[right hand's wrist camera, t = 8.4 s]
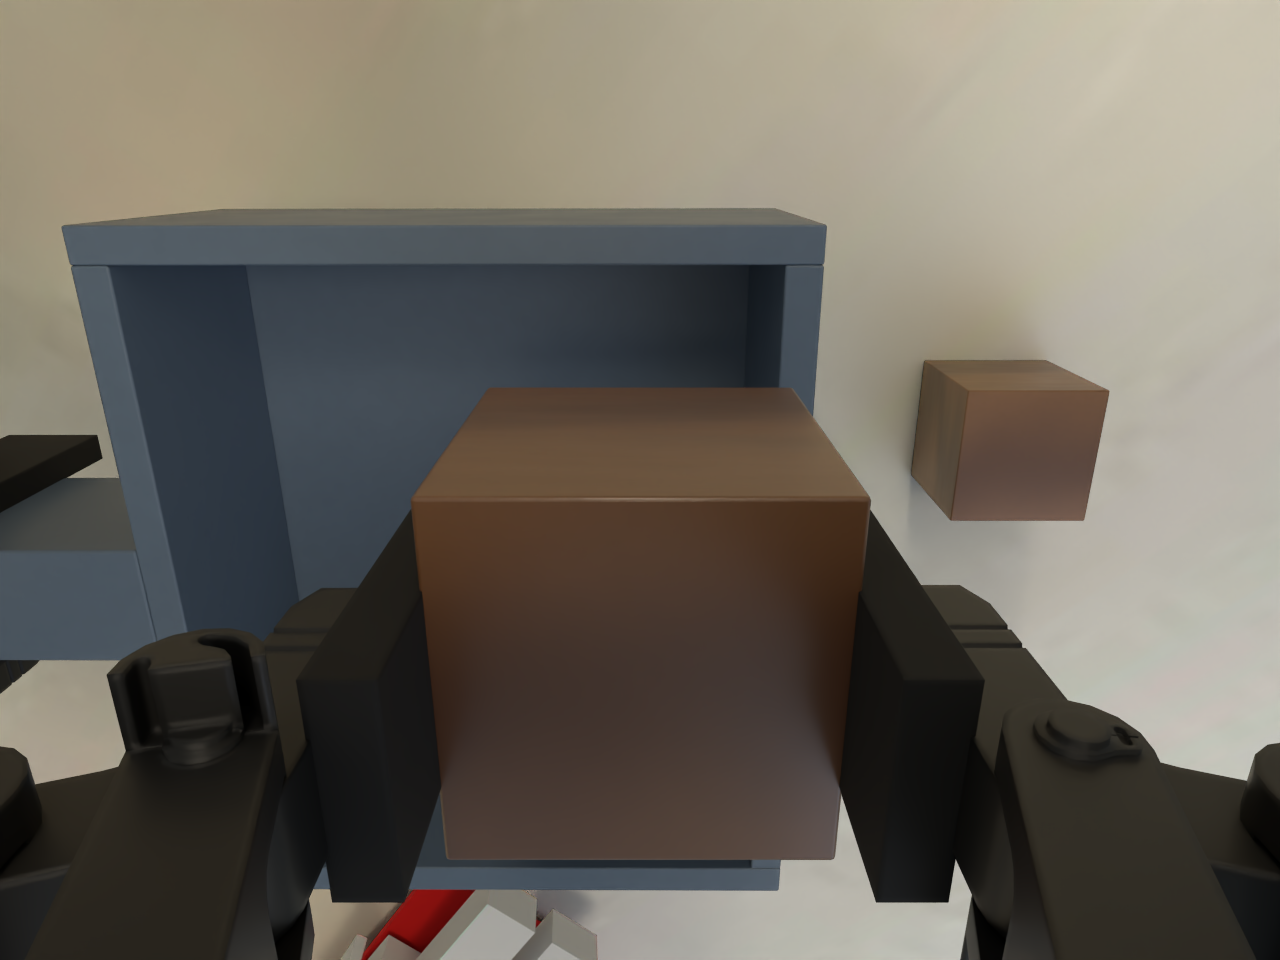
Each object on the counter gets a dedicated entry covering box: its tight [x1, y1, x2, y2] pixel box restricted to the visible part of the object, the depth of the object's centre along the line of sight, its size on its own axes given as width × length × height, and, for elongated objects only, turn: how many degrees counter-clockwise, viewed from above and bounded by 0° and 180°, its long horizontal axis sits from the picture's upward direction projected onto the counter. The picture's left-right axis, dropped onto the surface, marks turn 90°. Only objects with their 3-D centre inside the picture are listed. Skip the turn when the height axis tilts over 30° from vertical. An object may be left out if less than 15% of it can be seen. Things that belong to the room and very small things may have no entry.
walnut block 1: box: [410, 388, 871, 860], centre depth 12 cm, size 5×5×5 cm
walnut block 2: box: [911, 360, 1109, 521], centre depth 33 cm, size 5×5×5 cm
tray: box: [0, 208, 827, 891], centre depth 24 cm, size 18×26×7 cm
